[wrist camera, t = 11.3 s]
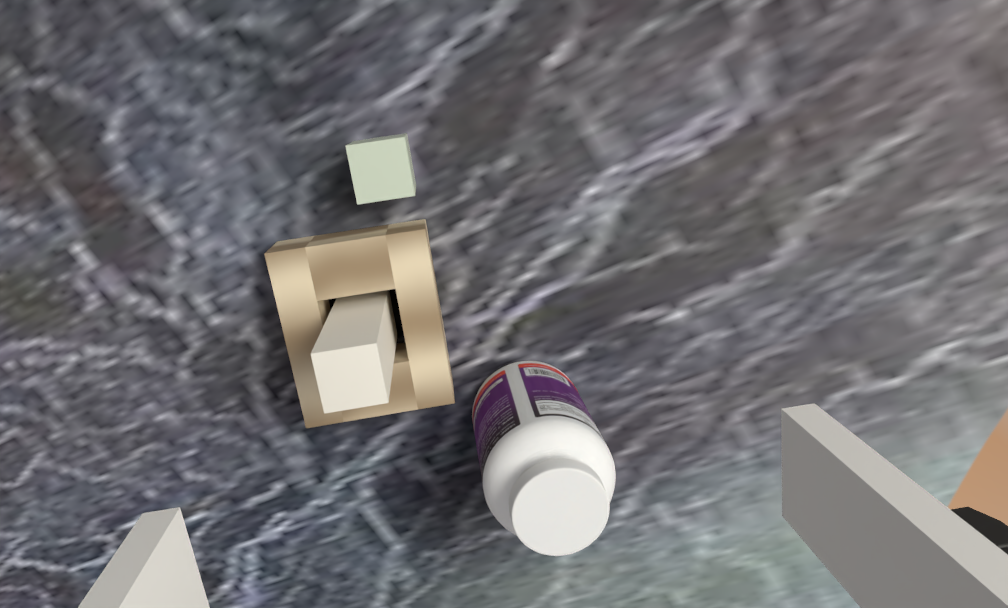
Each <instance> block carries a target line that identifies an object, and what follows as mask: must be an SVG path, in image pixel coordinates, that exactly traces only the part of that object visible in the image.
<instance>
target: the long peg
mask: <svg viewBox="0 0 1008 608" xmlns="http://www.w3.org/2000/svg"><path fill="white" fill-rule="evenodd" d="M396 341H397V329H396V323H395V318H394V313H393V307H392V302H391V297H390V292H389V290H384V291H378V292H372V293H365V294H359V295H353V296H346V297H340V298H336V300H335V303H334V305H333V307H332V309H331V311H330V313H329V315H328V318H327V320H326V322H325V324H324V326H323V328H322V330H321V332H320V335H319V337H318V339H317V341H316V343H315V345H314V347H313V350H312V352H311V358H312V363H313V367H314V371H315V376H316V380H317V384H318V389H319V393H320V397H321V402H322V406H323V410H324V414H325V413H331V412H337V411H343V410H349V409H355V408H361V407H367V406H373V405H379V404H385V403H388V402H389V395H390V387H391V380H392V372H393V364H394V357H395V349H396Z"/></svg>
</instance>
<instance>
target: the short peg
mask: <svg viewBox="0 0 1008 608" xmlns="http://www.w3.org/2000/svg"><path fill="white" fill-rule="evenodd" d="M346 151H347V156H348V161H349V166H350V171H351V176H352V181H353V186H354V191H355V196H356V201H357V205H358V204H365V203H371V202H378V201H384V200H391V199H397V198H404V197H410V196H415V192H416V182H415V177H414V171H413V165H412V160H411V154H410V148H409V142H408V137H407V133H406V134H399V135H392V136H386V137H379V138H372V139H365V140H359V141H353V142H351V143H350V144H348V145H346Z"/></svg>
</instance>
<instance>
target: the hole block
mask: <svg viewBox="0 0 1008 608" xmlns="http://www.w3.org/2000/svg"><path fill="white" fill-rule="evenodd" d="M264 254H265V258H266V263H267V267H268V271H269V275H270V279H271V284H272V288H273V292H274V296H275V300H276V304H277V309H278V313H279V317H280V321H281V325H282V329H283V334H284V338H285V342H286V346H287V350H288V355H289V359H290V363H291V367H292V371H293V375H294V380H295V384H296V388H297V392H298V396H299V400H300V405H301V409H302V413H303V417H304V421H305V426H306V428H311V427H317V426H322V425H328V424H334V423H340V422H346V421H352V420H358V419H364V418H370V417H376V416H382V415H388V414H394V413H400V412H405V411H411V410H417V409H423V408H429V407H435V406H441V405H447V404H453V403H455V400H454V389H453V379H452V374H451V368H450V362H449V356H448V350H447V344H446V338H445V332H444V326H443V320H442V314H441V309H440V303H439V297H438V291H437V285H436V279H435V273H434V267H433V261H432V255H431V249H430V243H429V238H428V232H427V226H426V220H425V219H422V220H415V221H409V222H402V223H396V224H389V225H382V226H376V227H369V228H363V229H356V230H350V231H343V232H336V233H330V234H323V235H317V236H310V237H303V238H297V239H290V240H284V241H278V242H276V243H275V244H274V245H273V246H272V247H271V248H270V249H269V250H268V251H267V252H266V253H264ZM391 289H396V295H397V300H398V305H399V311H400V316H401V321H402V327H403V332H404V337H405V342H404V343H398V344H396V349H395V357H394V364H393V372H392V380H391V387H390V395H389V402H388V403H385V404H379V405H373V406H367V407H361V408H355V409H349V410H343V411H337V412H331V413H325V414H324V410H323V406H322V402H321V397H320V393H319V389H318V384H317V380H316V376H315V371H314V367H313V363H312V358H311V352H312V350H313V347H314V345H315V343H316V341H317V339H318V337H319V335H320V332H321V330H322V328H323V326H324V324H325V322H326V320H327V318H328V315H329V313H330V311H331V308H330V303H329V299H333V298H340V297H346V296H353V295H359V294H365V293H372V292H378V291H384V290H391Z"/></svg>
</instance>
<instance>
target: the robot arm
mask: <svg viewBox="0 0 1008 608" xmlns="http://www.w3.org/2000/svg"><path fill="white" fill-rule="evenodd" d="M781 424H782V516H783V517H784V518H785V520H786V521H787V522H788V523H789V524H790V525H791V527H792V528H793V529H794V530H795V531H796V532H797V534H798V535H799V536H800V537H801V538H802V539H803V541H804V542H805V543H806V544H807V545H808V546H809V548H810V549H811V550H812V551H813V552H814V553H815V555H816V556H817V557H818V558H819V559H820V561H821V562H822V563H823V564H824V565H825V566H826V568H827V569H828V570H829V571H830V572H831V573H832V575H833V576H834V577H835V578H836V579H837V580H838V582H839V583H840V584H841V585H842V586H843V587H844V589H845V590H846V591H847V592H848V593H849V594H850V596H851V597H852V598H853V599H854V600H855V601H856V603H857V604H858V605H859V606H860V607H861V608H1008V526H1007V525H1005V524H1004V523H1003V522H1001V521H999V520H997V519H995V518H992V517H990V516H988V515H986V514H983V513H981V512H979V511H976V510H974V509H972V508H970V507H964V508H958V509H952V510H950V509H949V508H948V507H946V506H945V505H944V504H942V503H941V502H940V501H939V500H937V499H936V498H935V497H933V496H932V495H931V494H930V493H928V492H927V491H926V490H924V489H923V488H922V487H921V486H919V485H918V484H917V483H916V482H914V481H913V480H912V479H910V478H909V477H908V476H907V475H905V474H904V473H903V472H901V471H900V470H899V469H898V468H896V467H895V466H894V465H893V464H891V463H890V462H889V461H887V460H886V459H885V458H884V457H882V456H881V455H880V454H878V453H877V452H876V451H875V450H873V449H872V448H871V447H869V446H868V445H867V444H866V443H864V442H863V441H862V440H861V439H859V438H858V437H857V436H855V435H854V434H853V433H852V432H850V431H849V430H848V429H846V428H845V427H844V426H843V425H841V424H840V423H839V422H837V421H836V420H835V419H834V418H832V417H831V416H830V415H829V414H827V413H826V412H825V411H823V410H822V409H821V408H820V407H818V406H817V405H816V404H808V405H802V406H796V407H790V408H784V409H781ZM78 608H210V607H209V604H208V601H207V597H206V594H205V590H204V587H203V584H202V580H201V577H200V573H199V570H198V567H197V563H196V560H195V557H194V553H193V550H192V546H191V543H190V540H189V536H188V533H187V530H186V526H185V523H184V519H183V516H182V513H181V509H180V507H179V508H173V509H167V510H161V511H154V512H148V513H143V514H142V515H141V517H140V518H139V519H138V521H137V522H136V524H135V525H134V527H133V528H132V530H131V531H130V533H129V534H128V535H127V537H126V538H125V540H124V541H123V543H122V544H121V546H120V547H119V548H118V550H117V551H116V553H115V554H114V556H113V557H112V559H111V560H110V562H109V563H108V564H107V566H106V567H105V569H104V570H103V572H102V573H101V575H100V576H99V578H98V579H97V580H96V582H95V583H94V585H93V586H92V588H91V589H90V591H89V592H88V594H87V595H86V596H85V598H84V599H83V601H82V602H81V604H80V605H79V607H78Z"/></svg>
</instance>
